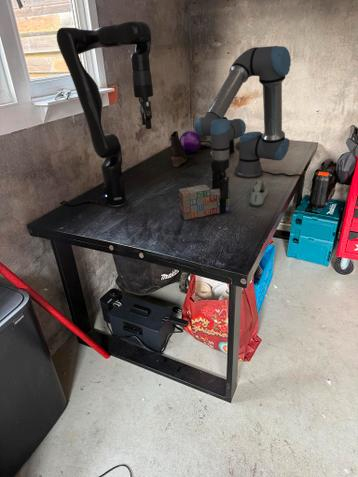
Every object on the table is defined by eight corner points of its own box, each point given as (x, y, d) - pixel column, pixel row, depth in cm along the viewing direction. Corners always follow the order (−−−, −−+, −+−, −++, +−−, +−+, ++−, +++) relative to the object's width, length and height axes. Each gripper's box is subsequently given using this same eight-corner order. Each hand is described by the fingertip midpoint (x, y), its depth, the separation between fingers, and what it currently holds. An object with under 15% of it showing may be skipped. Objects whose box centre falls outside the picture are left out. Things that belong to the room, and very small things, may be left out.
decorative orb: (204, 151, 235) (204, 129, 228) (194, 156, 225) (193, 134, 217) (186, 149, 243) (186, 128, 235) (175, 154, 232) (174, 132, 224)
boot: (189, 157, 225) (188, 126, 215) (182, 168, 205) (180, 135, 195) (176, 157, 227) (175, 126, 217) (168, 168, 206) (166, 135, 196)
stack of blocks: (225, 205, 152) (225, 180, 146) (230, 211, 147) (230, 185, 140) (180, 214, 148) (178, 188, 142) (184, 220, 143) (182, 194, 137)
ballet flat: (269, 188, 169) (270, 173, 165) (265, 208, 149) (266, 191, 145) (252, 187, 171) (253, 172, 167) (246, 206, 151) (247, 190, 147)
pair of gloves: (199, 150, 238) (199, 143, 235) (184, 143, 258) (184, 136, 255) (235, 144, 247) (235, 137, 245) (218, 137, 268) (218, 131, 265)
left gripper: (130, 82, 132) (135, 124, 140) (135, 85, 120) (140, 131, 128) (148, 81, 133) (152, 122, 141) (155, 84, 121) (159, 129, 129)
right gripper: (204, 153, 144) (205, 202, 156) (219, 166, 128) (219, 219, 140) (220, 151, 145) (220, 199, 157) (237, 164, 129) (236, 216, 141)
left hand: (146, 126), depth 135 cm, fingers open, 8 cm apart
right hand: (219, 208), depth 148 cm, fingers closed on stack of blocks, 6 cm apart
